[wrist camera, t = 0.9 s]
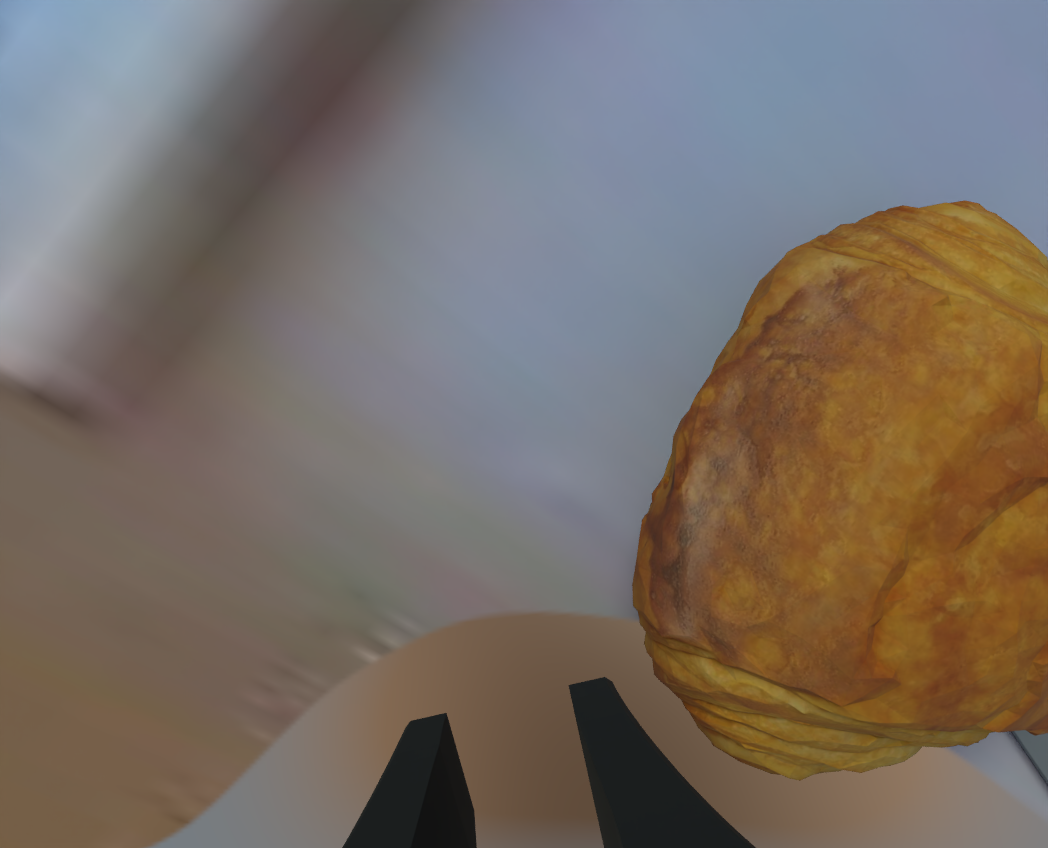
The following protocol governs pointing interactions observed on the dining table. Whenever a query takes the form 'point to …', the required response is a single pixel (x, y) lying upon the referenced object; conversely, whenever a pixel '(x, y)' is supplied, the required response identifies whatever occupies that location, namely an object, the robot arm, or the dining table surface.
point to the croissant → (863, 503)
